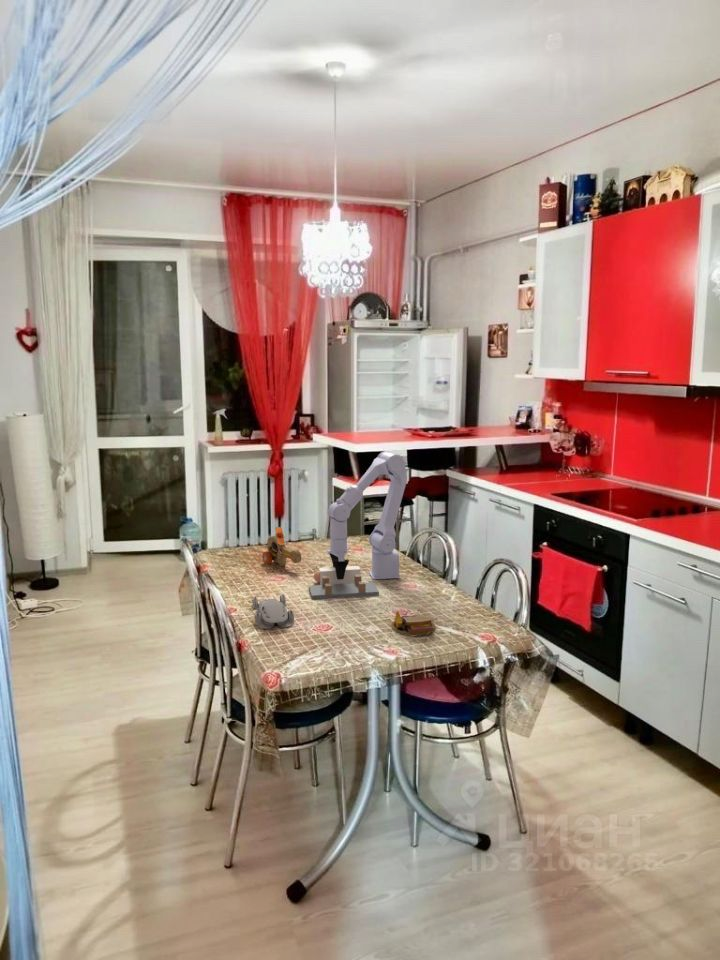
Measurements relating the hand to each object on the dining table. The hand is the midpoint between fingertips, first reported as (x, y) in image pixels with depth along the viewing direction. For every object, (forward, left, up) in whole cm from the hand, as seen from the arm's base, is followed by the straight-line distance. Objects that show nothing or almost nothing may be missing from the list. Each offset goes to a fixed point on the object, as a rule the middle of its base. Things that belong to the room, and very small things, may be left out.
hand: (338, 575), depth 250 cm
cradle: (0, +11, -2) cm, 11 cm away
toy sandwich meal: (-16, +46, -3) cm, 49 cm away
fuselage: (0, 0, -3) cm, 3 cm away
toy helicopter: (+18, -22, -3) cm, 28 cm away
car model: (+24, +29, -3) cm, 38 cm away
